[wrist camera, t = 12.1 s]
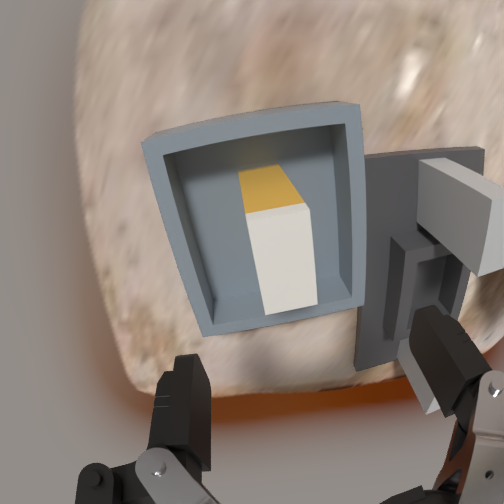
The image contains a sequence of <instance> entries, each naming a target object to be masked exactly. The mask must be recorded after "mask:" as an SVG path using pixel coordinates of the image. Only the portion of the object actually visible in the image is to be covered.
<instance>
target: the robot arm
mask: <svg viewBox="0 0 504 504" xmlns="http://www.w3.org/2000/svg"><path fill="white" fill-rule="evenodd" d="M409 347H410V350H411V353H412V355H413V356H414V358H415V360H416V362H417V364H418V366H419V368H420V369H421V371H422V373H423V375H424V377H425V379H426V381H427V383H428V385H429V387H430V388H431V390H432V392H433V394H434V396H435V398H436V400H437V402H438V404H439V406H440V408H441V410H442V412H443V415H444V416H445V418H446V417H448V416H450V415H453V414H455V415H456V417H457V420H456V422H455V425H454V430H453V433H452V437H451V441H450V445H449V449H448V452H447V456H446V459H445V462H444V465H443V467H442V469H441V471H440V473H439V474H438V476H437V478H436V481H435V483H434V486H433V488H432V490H423V488H422V486H418V487H416V488H413V489H411V490H409V491H406V492H403V493H400V494H397V495H395V496H392V497H390V498H388V499H387V500H385V501H383V502H382V503H380V504H503V502H504V373H503V372H501V371H497V370H492V369H491V368H490V366H489V364H488V363H487V361H486V360H485V358H484V357H483V355H482V354H481V353H480V351H479V350H478V348H477V347H476V345H475V344H474V343H473V341H471V338H470V337H469V336H468V334H467V333H465V330H464V329H463V327H462V326H461V325H460V323H459V322H458V321H457V320H455V319H454V318H452V317H451V316H449V315H448V314H447V315H443V314H442V313H441V311H440V310H439V309H438V307H437V306H436V305H430V306H427V307H423V308H420V309H417V310H415V312H414V317H413V322H412V326H411V331H410V335H409ZM155 396H156V398H155V401H154V409H153V414H152V421H151V429H150V436H149V443H148V447H147V450H146V451H145V452H143V453H142V454H141V455H140V456H139V458H138V460H137V461H135V462H133V463H130V464H126V465H122V466H118V467H114V468H108V467H107V466H106V465H104V464H101V463H92V464H89V465H87V466H86V467H85V468H83V470H82V471H81V472H80V474H79V478H78V484H77V491H76V500H75V504H221V503H220V502H219V501H218V500H217V499H216V498H215V497H214V496H213V495H212V494H211V493H210V492H209V490H208V489H207V488H206V487H205V486H204V485H203V484H202V471H211V386H210V382H209V378H208V376H207V374H206V372H205V369H204V367H203V365H202V363H201V360H200V358H199V356H198V354H188V355H180V356H176V357H175V362H174V369H173V371H165V372H164V373H163V375H162V377H161V378H160V380H159V381H158V383H157V389H156V395H155Z"/></svg>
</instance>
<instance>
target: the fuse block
mask: <svg viewBox="0 0 504 504" xmlns="http://www.w3.org/2000/svg"><path fill="white" fill-rule="evenodd" d="M484 153H485V149H483V148H480V147H478V146H474V147H452V148H436V149H422V150H410V151H398V152H388V153H378V154H369V155H364V161H365V181H366V279H365V300H364V305H363V306H359V307H358V313H357V330H356V344H355V356H354V367H355V369H356V372H357V371H361V370H364V369H368V368H371V367H375V366H378V365H381V364H385V363H388V362H391V361H394V360H397V359H398V361H399V363H400V365H401V366H402V368H403V370H404V372H405V374H406V376H407V378H408V380H409V382H410V384H411V386H412V388H413V390H414V392H415V394H416V395H417V398H418V400H419V402H420V404H421V406H422V408H423V410H424V412H425V414H428V413H431V412H433V411H435V410H438V409H440V406H439V404H438V402H437V400H436V398H435V396H434V394H433V392H432V390H431V388H430V387H429V385H428V383H427V381H426V379H425V377H424V375H423V373H422V371H421V369H420V368H419V366H418V364H417V362H416V360H415V358H414V356H413V355H412V353H411V350H410V347H409V335H410V331H411V326H412V322H413V317H414V312H415V310H417V309H420V308H423V307H427V306H430V305H436V306H437V307H438V309H439V310H440V311H441V313H442V314H443V315H447V314H448V315H449V316H451V317H452V318H454V319H455V320H458V317H459V313H460V310H461V307H462V303H463V300H464V296H465V292H466V288H467V284H468V280H469V276H470V272H471V271H472V272H473V273H474V274H475V275H476V276H477V277H480V276H482V275H485V274H488V273H491V272H494V271H497V270H500V269H502V268H504V187H503V186H501V185H499V184H497V183H496V182H494V181H492V180H490V179H488V178H486V177H484V176H483V171H484Z"/></svg>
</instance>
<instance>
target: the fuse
mask: <svg viewBox="0 0 504 504" xmlns="http://www.w3.org/2000/svg"><path fill="white" fill-rule="evenodd" d="M238 174H239V180H240V186H241V192H242V198H243V203H244V209H245V215H246V221H247V226H248V231H249V236H250V241H251V246H252V251H253V256H254V261H255V266H256V271H257V276H258V281H259V286H260V291H261V296H262V301H263V306H264V311H265V315H269V314H274V313H279V312H284V311H289V310H294V309H298V308H303V307H308V306H312V305H317V304H318V302H317V287H316V273H315V260H314V249H313V238H312V227H311V217H310V209H309V208H308V206H307V205H306V203H305V202H304V200H303V199H302V197H301V196H300V194H299V193H298V191H297V190H296V189H295V187H294V186H293V184H292V183H291V181H290V180H289V178H288V177H287V176H286V174H285V173H284V171H283V170H282V168H281V167H280V166H279V164H275V165H269V166H263V167H258V168H253V169H247V170H242V171H238Z"/></svg>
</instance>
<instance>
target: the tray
mask: <svg viewBox="0 0 504 504" xmlns="http://www.w3.org/2000/svg"><path fill="white" fill-rule="evenodd" d="M141 145H142V149H143V153H144V157H145V161H146V164H147V168H148V172H149V175H150V179H151V182H152V186H153V189H154V193H155V196H156V200H157V203H158V206H159V210H160V213H161V216H162V220H163V223H164V226H165V229H166V232H167V236H168V239H169V242H170V245H171V248H172V251H173V254H174V257H175V260H176V263H177V266H178V269H179V272H180V275H181V278H182V281H183V284H184V287H185V289H186V292H187V295H188V298H189V301H190V304H191V306H192V309H193V312H194V314H195V317H196V320H197V323H198V325H199V328H200V331H201V333H202V336H203V337H208V336H214V335H220V334H226V333H232V332H238V331H244V330H250V329H255V328H261V327H266V326H271V325H276V324H282V323H287V322H292V321H296V320H301V319H306V318H311V317H315V316H320V315H324V314H329V313H333V312H338V311H342V310H346V309H350V308H354V307H359V306H363V305H364V300H365V279H366V181H365V161H364V146H363V133H362V121H361V111H360V105H359V104H353V103H347V102H340V101H332V102H321V103H311V104H302V105H294V106H286V107H279V108H272V109H265V110H259V111H253V112H247V113H241V114H236V115H231V116H225V117H220V118H215V119H211V120H206V121H201V122H197V123H193V124H188V125H184V126H180V127H176V128H172V129H168V130H164V131H160V132H157V133H154V134H153V135H151V136H150V137H148V138H147V139H145V140H144V141H142V142H141ZM275 164H279V166H280V167H281V168H282V170H283V171H284V173H285V174H286V176H287V177H288V178H289V180H290V181H291V183H292V184H293V186H294V187H295V189H296V190H297V191H298V193H299V194H300V196H301V197H302V199H303V200H304V202H305V203H306V205H307V206H308V208H309V209H310V217H311V227H312V238H313V249H314V260H315V273H316V287H317V302H318V304H317V305H312V306H308V307H303V308H298V309H294V310H289V311H284V312H279V313H274V314H269V315H265V311H264V306H263V301H262V296H261V291H260V286H259V281H258V276H257V271H256V266H255V261H254V256H253V251H252V246H251V241H250V236H249V231H248V226H247V221H246V215H245V209H244V203H243V198H242V192H241V186H240V180H239V174H238V171H242V170H247V169H253V168H258V167H263V166H269V165H275Z"/></svg>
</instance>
